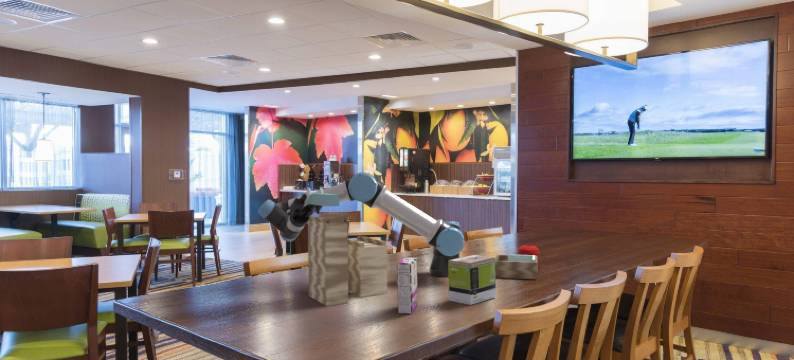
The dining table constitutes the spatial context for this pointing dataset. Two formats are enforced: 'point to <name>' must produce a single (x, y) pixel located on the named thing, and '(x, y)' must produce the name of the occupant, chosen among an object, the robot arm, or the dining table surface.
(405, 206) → the robot arm
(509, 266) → the caddy
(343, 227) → the stand
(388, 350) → the dining table surface
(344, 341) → the dining table surface
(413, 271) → the candy bar box
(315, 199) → the bar
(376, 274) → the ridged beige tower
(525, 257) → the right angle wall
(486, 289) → the tea box
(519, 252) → the apple
